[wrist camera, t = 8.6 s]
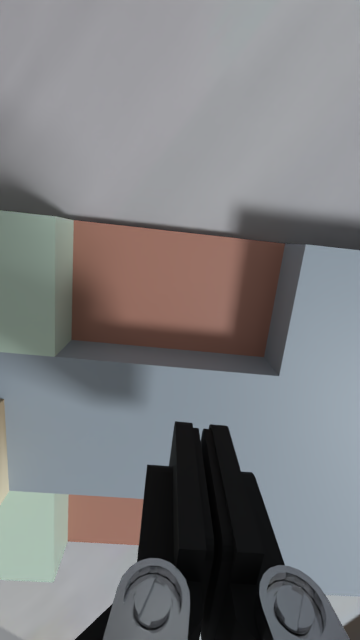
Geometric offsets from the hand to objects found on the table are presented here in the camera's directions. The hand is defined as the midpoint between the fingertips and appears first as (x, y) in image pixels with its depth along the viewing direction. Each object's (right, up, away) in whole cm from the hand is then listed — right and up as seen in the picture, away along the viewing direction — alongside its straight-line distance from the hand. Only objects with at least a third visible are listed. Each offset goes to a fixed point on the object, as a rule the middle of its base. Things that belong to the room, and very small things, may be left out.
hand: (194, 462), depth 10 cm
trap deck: (-2, 0, +6) cm, 6 cm away
